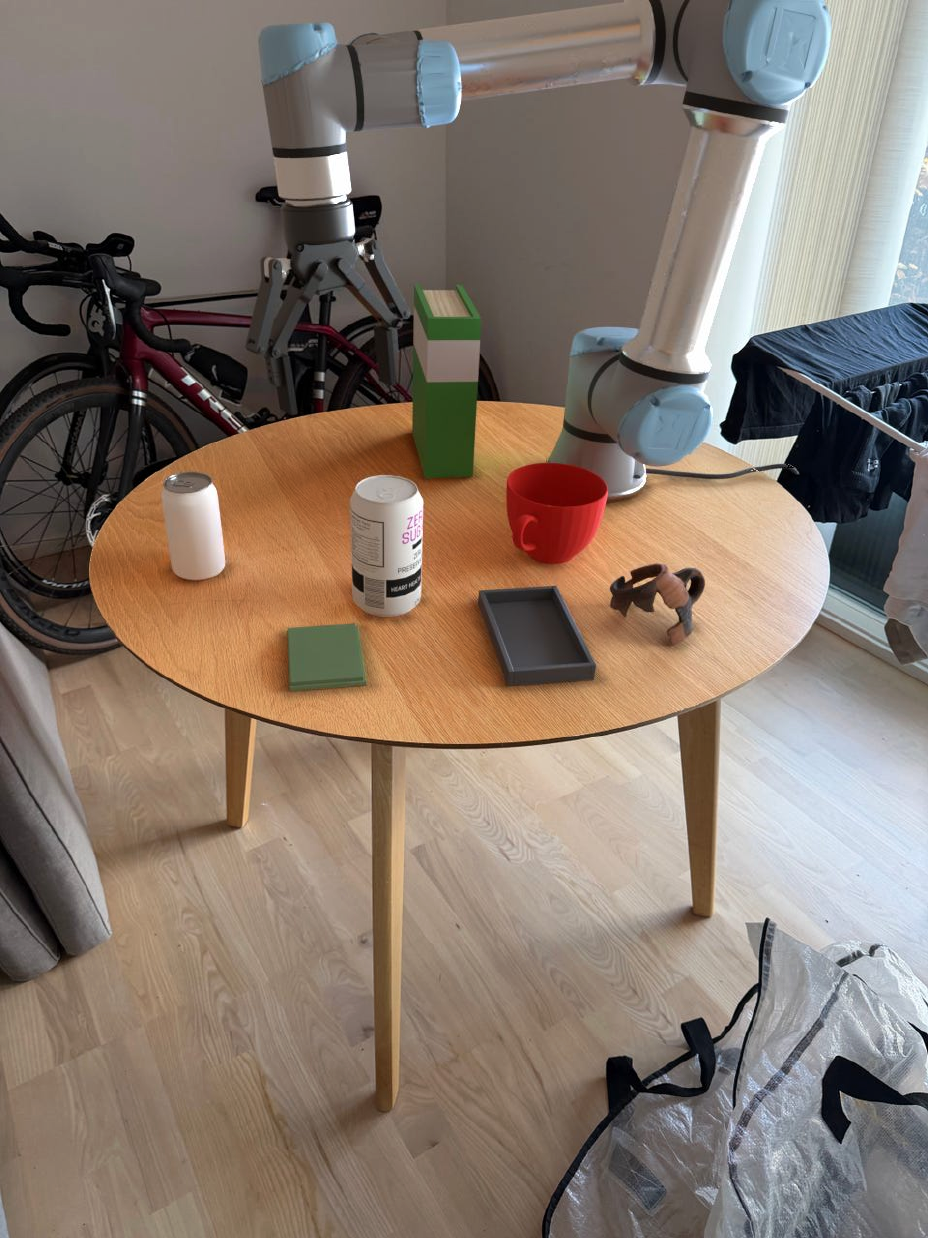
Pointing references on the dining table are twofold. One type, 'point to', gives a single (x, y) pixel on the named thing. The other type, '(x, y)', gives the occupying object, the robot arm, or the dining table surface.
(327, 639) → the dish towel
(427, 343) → the hardback book
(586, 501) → the ceramic cup
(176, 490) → the can
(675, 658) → the dining table surface
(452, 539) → the dining table surface
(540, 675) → the pan
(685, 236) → the robot arm
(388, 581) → the supplement can
